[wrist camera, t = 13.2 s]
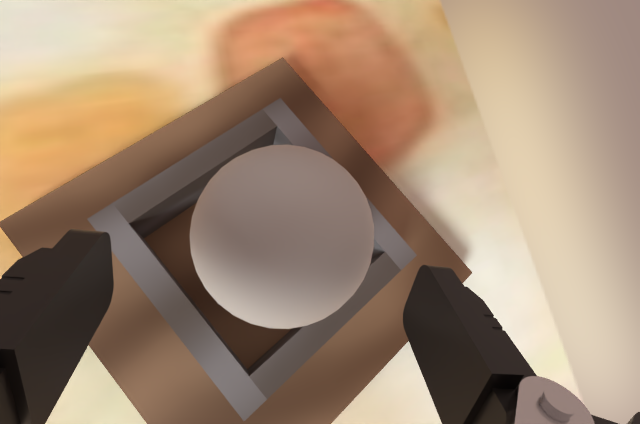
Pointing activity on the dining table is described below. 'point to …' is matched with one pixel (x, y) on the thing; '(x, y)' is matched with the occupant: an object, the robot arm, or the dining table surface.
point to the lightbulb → (282, 236)
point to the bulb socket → (188, 290)
